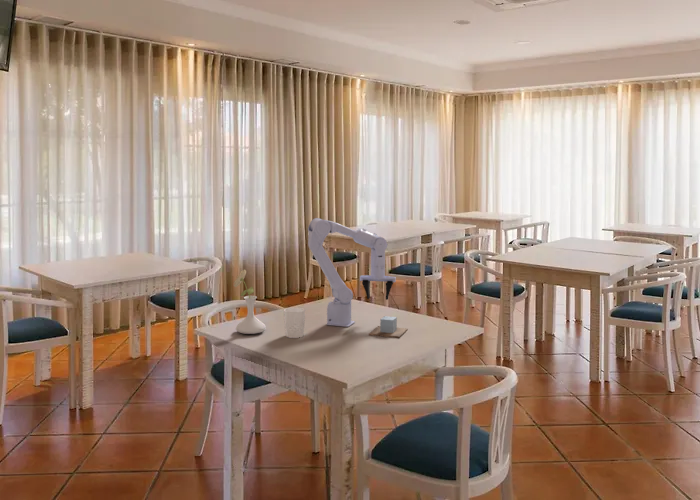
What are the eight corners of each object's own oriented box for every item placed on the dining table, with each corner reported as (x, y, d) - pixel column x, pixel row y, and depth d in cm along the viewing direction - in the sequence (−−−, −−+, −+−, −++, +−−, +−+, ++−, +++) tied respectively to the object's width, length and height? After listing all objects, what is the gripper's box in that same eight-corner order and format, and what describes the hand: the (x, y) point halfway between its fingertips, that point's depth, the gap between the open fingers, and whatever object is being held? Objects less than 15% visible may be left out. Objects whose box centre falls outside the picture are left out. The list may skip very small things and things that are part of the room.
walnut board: (368, 335, 238) (368, 333, 238) (378, 327, 250) (378, 325, 249) (399, 338, 234) (399, 336, 234) (407, 329, 246) (407, 328, 245)
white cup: (308, 334, 240) (308, 308, 239) (300, 339, 233) (299, 313, 231) (289, 332, 243) (289, 306, 241) (280, 337, 235) (280, 311, 234)
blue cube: (380, 331, 240) (380, 319, 240) (384, 328, 245) (384, 316, 244) (393, 333, 239) (393, 320, 238) (396, 329, 243) (396, 317, 243)
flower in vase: (250, 327, 250) (249, 264, 247) (272, 331, 244) (271, 267, 240) (226, 334, 240) (224, 269, 236) (248, 339, 233) (246, 272, 230)
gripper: (358, 266, 253) (358, 299, 255) (394, 268, 250) (393, 301, 252) (361, 264, 260) (361, 296, 262) (396, 265, 257) (396, 297, 259)
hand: (377, 298), depth 258 cm, fingers open, 7 cm apart
